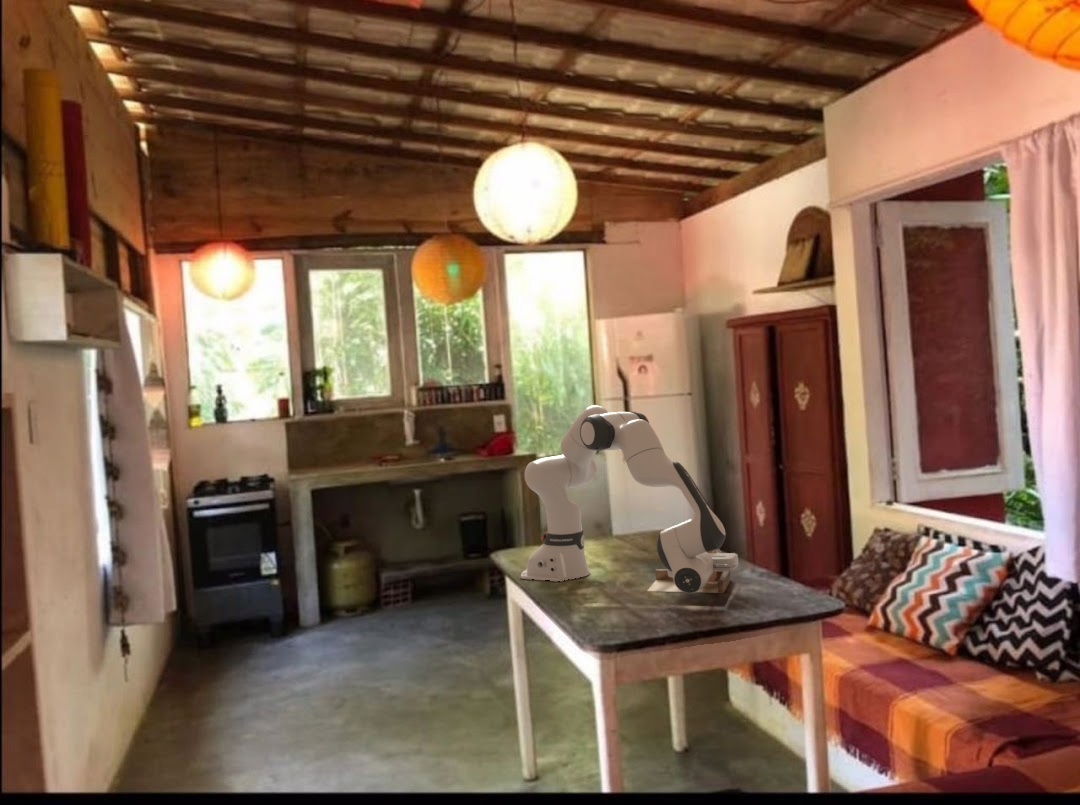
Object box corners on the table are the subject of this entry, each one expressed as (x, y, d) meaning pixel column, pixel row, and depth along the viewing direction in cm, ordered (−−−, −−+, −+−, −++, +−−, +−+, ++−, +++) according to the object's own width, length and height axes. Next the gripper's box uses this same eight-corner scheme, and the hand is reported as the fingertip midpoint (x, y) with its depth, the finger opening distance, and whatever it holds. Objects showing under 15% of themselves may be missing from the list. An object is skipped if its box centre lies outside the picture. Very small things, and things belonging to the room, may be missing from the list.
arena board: (647, 594, 245) (646, 580, 245) (657, 582, 258) (656, 569, 258) (723, 596, 238) (723, 582, 238) (730, 583, 251) (729, 570, 251)
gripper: (735, 555, 232) (741, 544, 245) (661, 554, 239) (670, 544, 252) (736, 578, 232) (742, 566, 245) (662, 576, 239) (672, 565, 252)
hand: (705, 555), depth 248 cm, fingers closed on terracotta block, 5 cm apart
